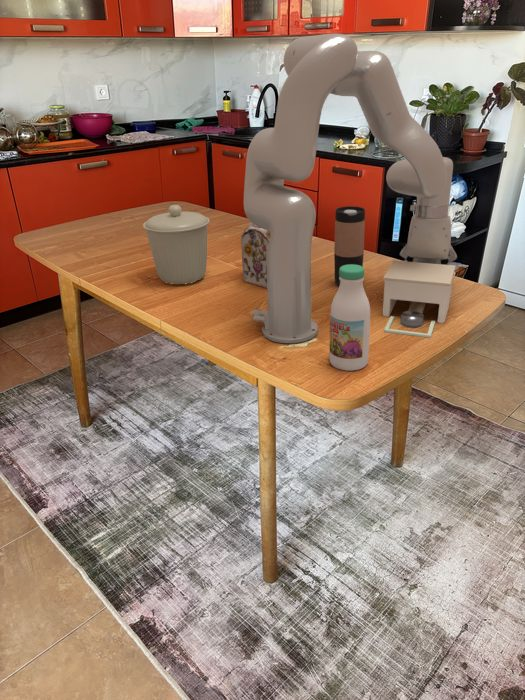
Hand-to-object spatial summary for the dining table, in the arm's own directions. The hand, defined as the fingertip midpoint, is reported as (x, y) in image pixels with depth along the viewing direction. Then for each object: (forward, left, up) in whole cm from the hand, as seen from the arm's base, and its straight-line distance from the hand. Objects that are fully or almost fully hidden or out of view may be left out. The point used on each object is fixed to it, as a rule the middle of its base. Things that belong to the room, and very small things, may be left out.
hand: (425, 281), depth 144 cm
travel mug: (-20, -1, -3) cm, 20 cm away
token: (0, -21, -2) cm, 22 cm away
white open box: (0, -13, -2) cm, 14 cm away
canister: (-66, -10, -3) cm, 67 cm away
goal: (0, -24, -2) cm, 24 cm away
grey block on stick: (0, -8, -2) cm, 8 cm away
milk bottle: (-9, -44, -3) cm, 45 cm away
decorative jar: (-41, -4, -3) cm, 41 cm away
